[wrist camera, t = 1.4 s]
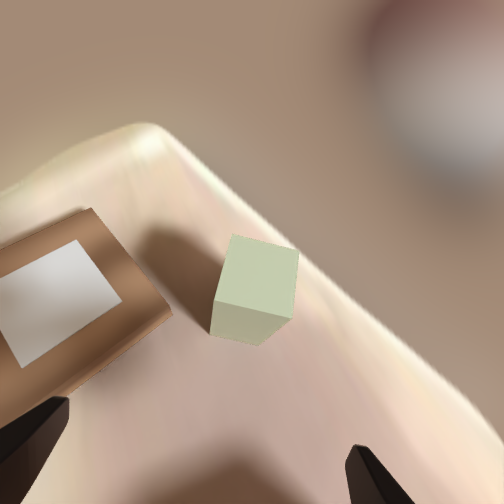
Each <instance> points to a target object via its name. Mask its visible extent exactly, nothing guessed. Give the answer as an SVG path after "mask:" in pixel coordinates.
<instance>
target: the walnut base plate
mask: <svg viewBox="0 0 504 504" xmlns="http://www.w3.org/2000/svg"><path fill="white" fill-rule="evenodd" d="M172 315H173V314H172V311H171V309H170V306H169V304H168V303H167V302H166V301H165V299H164V298H163V297H162V296H161V294H160V293H159V292H158V291H157V289H156V288H155V287H154V286H153V284H152V283H151V282H150V281H149V279H148V278H147V277H146V276H145V274H144V273H143V272H142V271H141V269H140V268H139V267H138V266H137V264H136V263H135V262H134V261H133V259H132V258H131V257H130V256H129V254H128V253H127V252H126V251H125V249H124V248H123V247H122V246H121V244H120V243H119V242H118V241H117V239H116V238H115V237H114V236H113V234H112V233H111V232H110V231H109V229H108V228H107V227H106V226H105V224H104V223H103V222H102V221H101V219H100V218H99V217H98V216H97V214H96V213H95V212H94V211H93V209H92V208H89V209H87V210H84V211H82V212H80V213H78V214H76V215H74V216H72V217H69V218H67V219H65V220H63V221H61V222H59V223H57V224H55V225H52V226H50V227H48V228H46V229H44V230H42V231H40V232H38V233H35V234H33V235H31V236H29V237H27V238H25V239H23V240H20V241H18V242H16V243H14V244H12V245H10V246H8V247H6V248H3V249H1V250H0V428H2V427H3V426H5V425H7V424H8V423H10V422H11V421H13V420H15V419H16V418H18V417H19V416H21V415H23V414H24V413H26V412H28V411H29V410H31V409H32V408H34V407H36V406H37V405H39V404H40V403H42V402H44V401H45V400H47V399H48V398H50V397H52V396H56V395H57V396H64V397H66V396H67V395H69V394H70V393H71V392H72V391H74V390H75V389H76V388H78V387H79V386H80V385H82V384H83V383H84V382H86V381H87V380H88V379H89V378H91V377H92V376H93V375H95V374H96V373H97V372H99V371H100V370H101V369H103V368H104V367H105V366H107V365H108V364H109V363H110V362H112V361H113V360H114V359H116V358H117V357H118V356H120V355H121V354H122V353H124V352H125V351H126V350H127V349H129V348H130V347H131V346H133V345H134V344H135V343H137V342H138V341H139V340H141V339H142V338H143V337H144V336H146V335H147V334H148V333H150V332H151V331H152V330H154V329H155V328H156V327H158V326H159V325H160V324H162V323H163V322H164V321H165V320H167V319H168V318H169V317H171V316H172Z"/></svg>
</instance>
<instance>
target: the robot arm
mask: <svg viewBox="0 0 504 504" xmlns="http://www.w3.org/2000/svg"><path fill="white" fill-rule="evenodd" d="M68 420H69V398H68V397H64V396H57V395H56V396H52V397H50V398H48V399H47V400H45V401H44V402H42V403H40V404H39V405H37V406H36V407H34V408H32V409H31V410H29V411H28V412H26V413H24V414H23V415H21V416H19V417H18V418H16V419H15V420H13V421H11V422H10V423H8V424H7V425H5V426H3V427H2V428H0V504H20V503H21V502H22V500H23V499H24V497H25V496H26V494H27V493H28V491H29V490H30V488H31V486H32V485H33V483H34V481H35V480H36V478H37V476H38V474H39V473H40V471H41V469H42V467H43V466H44V464H45V462H46V460H47V459H48V457H49V455H50V453H51V452H52V450H53V448H54V446H55V445H56V443H57V441H58V439H59V438H60V436H61V434H62V432H63V430H64V429H65V427H66V425H67V423H68ZM345 471H346V476H347V482H348V488H349V494H350V499H351V504H415V503H414V502H413V501H412V499H411V498H410V497H409V496H408V495H407V493H406V492H405V491H404V490H403V489H402V487H401V486H400V485H399V484H398V483H397V481H396V480H395V479H394V478H393V477H392V475H391V474H390V473H389V472H388V471H387V469H386V468H385V467H384V466H383V465H382V463H381V462H380V461H379V460H378V458H377V457H376V456H375V455H374V454H373V452H372V451H371V450H370V449H369V448H368V447H366V446H363V445H357V444H355V445H353V447H352V449H351V451H350V453H349V455H348V457H347V459H346V463H345Z"/></svg>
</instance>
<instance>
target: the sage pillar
mask: <svg viewBox="0 0 504 504" xmlns="http://www.w3.org/2000/svg"><path fill="white" fill-rule="evenodd" d="M298 259H299V251H298V250H294V249H290V248H286V247H282V246H278V245H274V244H270V243H266V242H262V241H258V240H254V239H250V238H247V237H243V236H239V235H235V234H232V236H231V239H230V243H229V247H228V250H227V254H226V258H225V261H224V265H223V269H222V272H221V276H220V280H219V283H218V287H217V291H216V294H215V298H214V304H213V311H212V319H211V327H210V334H209V335H213V336H217V337H222V338H226V339H230V340H235V341H239V342H244V343H248V344H252V345H257V346H259V345H260V344H261V343H262V342H264V341H265V340H266V339H267V338H269V337H270V336H271V335H272V334H274V333H275V332H276V331H277V330H279V329H280V328H281V327H282V326H284V325H285V324H286V323H287V322H289V321H290V320H291V319H292V316H293V306H294V297H295V288H296V278H297V269H298Z"/></svg>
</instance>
